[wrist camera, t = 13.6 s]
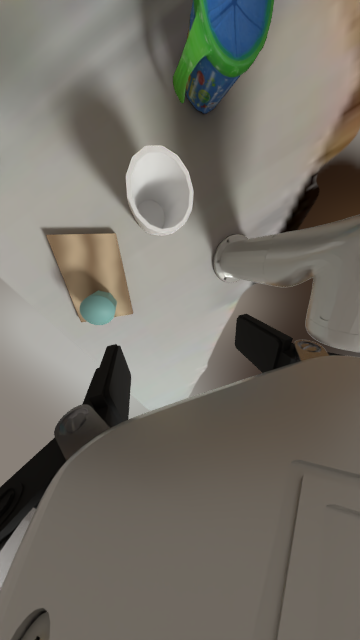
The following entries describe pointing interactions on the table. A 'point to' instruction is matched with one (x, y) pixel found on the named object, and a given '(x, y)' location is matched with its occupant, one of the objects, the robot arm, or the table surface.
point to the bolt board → (91, 268)
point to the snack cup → (220, 48)
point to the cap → (98, 308)
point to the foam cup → (159, 190)
